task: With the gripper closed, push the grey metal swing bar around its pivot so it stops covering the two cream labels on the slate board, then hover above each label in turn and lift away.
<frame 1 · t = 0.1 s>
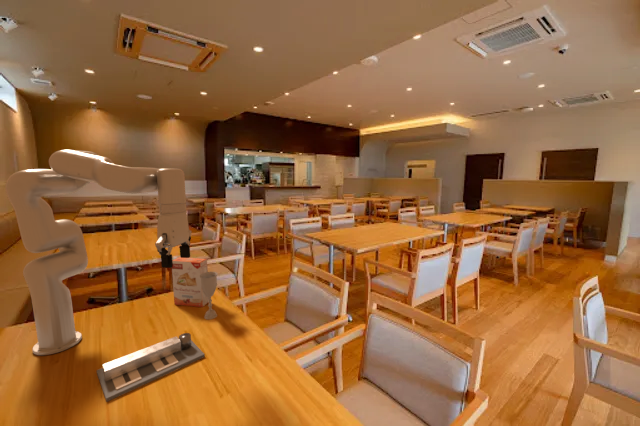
hand: (176, 262, 91), 31 cm above the table, tool pointing down, fingers open, 9 cm apart
chalice: (210, 316, 119), on the table
label board: (153, 364, 89), on the table
swing bar: (151, 354, 89), point 3 cm above the table, hinge at 0.0°
cracker box: (192, 304, 130), on the table
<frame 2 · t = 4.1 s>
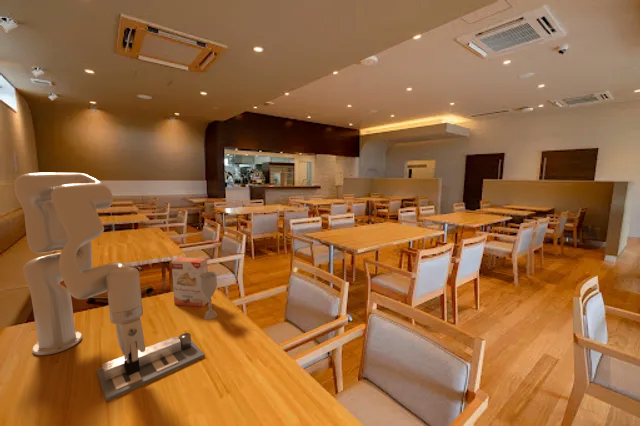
hand: (132, 372, 82), 3 cm above the table, tool pointing down, fingers closed
swing bar: (151, 354, 89), point 3 cm above the table, hinge at -0.9°, touching gripper
everything else where it was.
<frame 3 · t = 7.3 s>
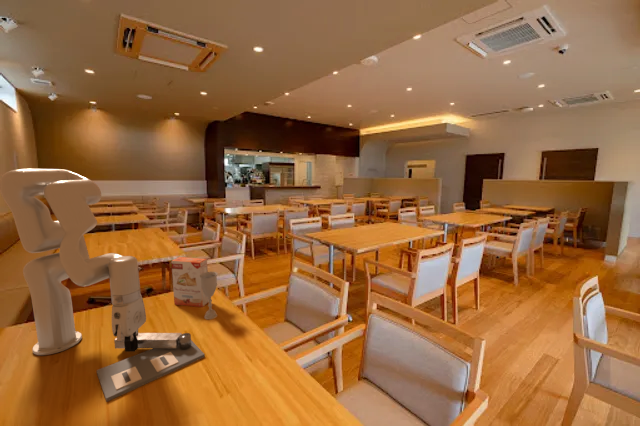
hand: (131, 350, 92), 3 cm above the table, tool pointing down, fingers closed
swing bar: (154, 341, 96), point 3 cm above the table, hinge at -44.4°, touching gripper
everything else where it was.
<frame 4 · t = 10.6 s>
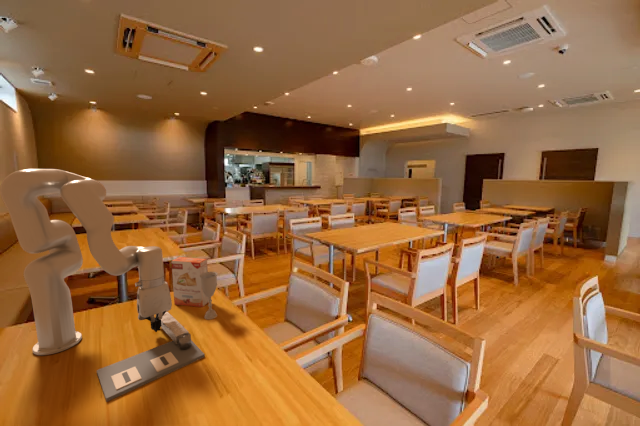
hand: (156, 329, 104), 3 cm above the table, tool pointing down, fingers closed
swing bar: (173, 329, 103), point 3 cm above the table, hinge at -89.0°, touching gripper
everything else where it was.
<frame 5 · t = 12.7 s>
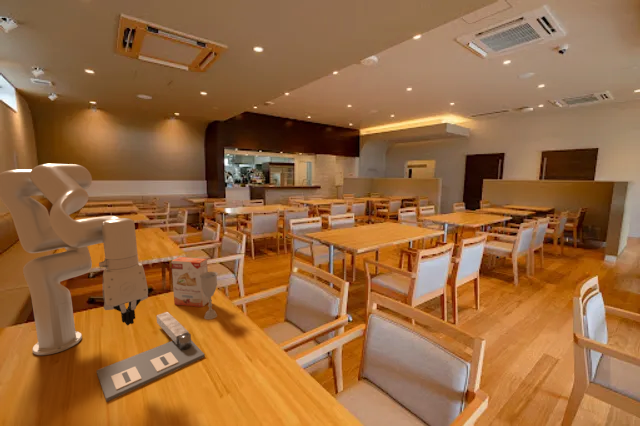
hand: (129, 322, 83), 16 cm above the table, tool pointing down, fingers closed
swing bar: (173, 329, 103), point 3 cm above the table, hinge at -89.0°
everything else where it was.
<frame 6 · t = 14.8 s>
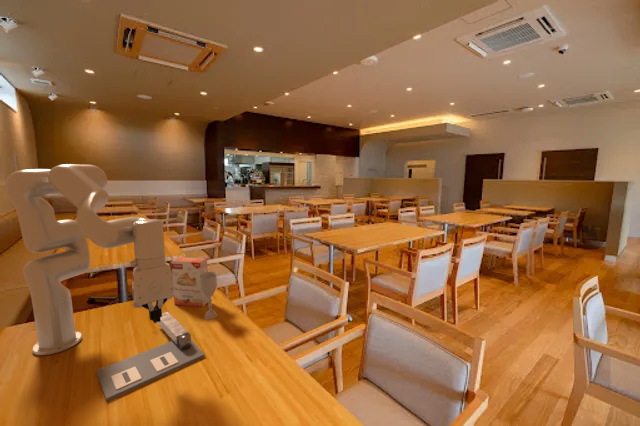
hand: (156, 320, 86), 15 cm above the table, tool pointing down, fingers closed
nothing on the table moved.
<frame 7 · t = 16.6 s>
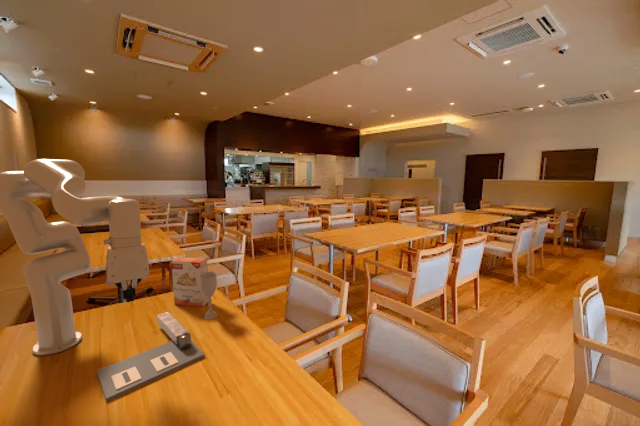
hand: (129, 300, 86), 21 cm above the table, tool pointing down, fingers closed
nothing on the table moved.
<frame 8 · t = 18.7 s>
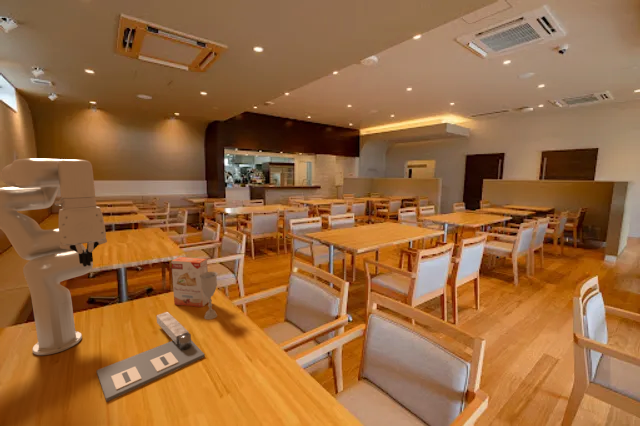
hand: (86, 264, 85), 32 cm above the table, tool pointing down, fingers closed
nothing on the table moved.
at the end: swing bar at -89° (first picture: +0°); chalice moved 0.2 cm from its start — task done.
